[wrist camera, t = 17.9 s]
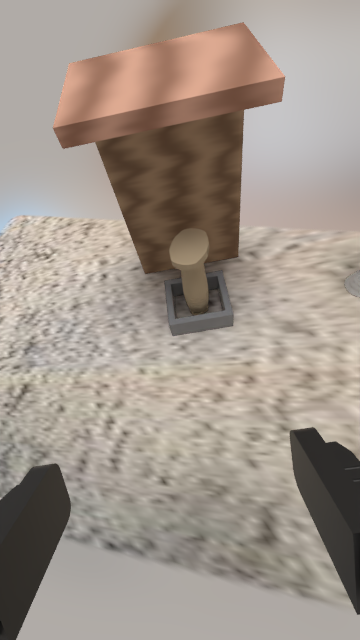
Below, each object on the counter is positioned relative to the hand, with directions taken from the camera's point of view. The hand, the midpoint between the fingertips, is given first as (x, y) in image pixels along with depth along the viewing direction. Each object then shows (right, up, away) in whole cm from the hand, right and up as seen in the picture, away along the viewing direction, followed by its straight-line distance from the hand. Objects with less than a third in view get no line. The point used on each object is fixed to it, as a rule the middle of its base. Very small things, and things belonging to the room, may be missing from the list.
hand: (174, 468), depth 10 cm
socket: (+3, +7, +40) cm, 41 cm away
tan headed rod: (+3, +7, +40) cm, 41 cm away
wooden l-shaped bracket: (+3, +11, +42) cm, 44 cm away
